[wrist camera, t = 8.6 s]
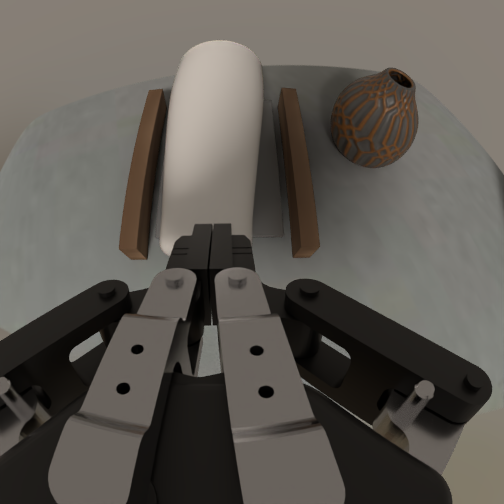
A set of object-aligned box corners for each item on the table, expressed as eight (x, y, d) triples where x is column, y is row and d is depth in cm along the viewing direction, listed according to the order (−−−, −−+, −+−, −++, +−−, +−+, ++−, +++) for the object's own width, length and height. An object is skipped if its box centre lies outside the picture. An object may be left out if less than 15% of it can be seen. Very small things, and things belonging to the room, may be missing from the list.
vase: (402, 179, 23) (457, 121, 14) (334, 182, 22) (380, 108, 14) (376, 120, 25) (414, 58, 16) (312, 117, 24) (340, 42, 15)
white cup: (124, 242, 13) (168, 44, 16) (168, 265, 20) (188, 99, 23) (264, 242, 13) (261, 35, 16) (265, 266, 20) (264, 94, 23)
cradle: (290, 104, 24) (294, 85, 22) (309, 257, 20) (320, 246, 18) (155, 105, 23) (150, 86, 21) (131, 259, 19) (118, 248, 17)
